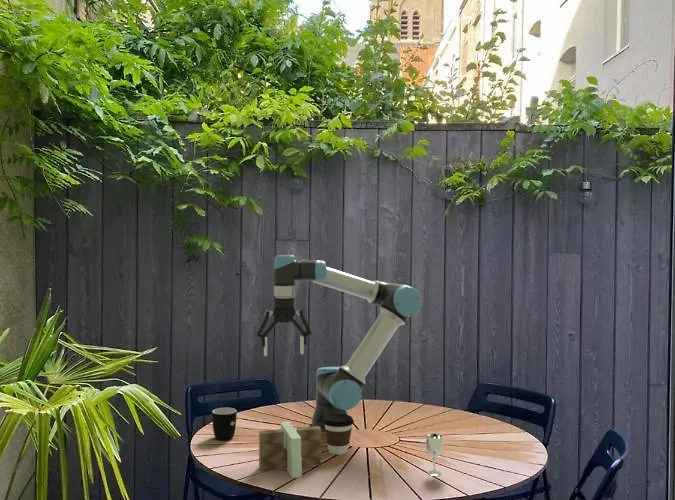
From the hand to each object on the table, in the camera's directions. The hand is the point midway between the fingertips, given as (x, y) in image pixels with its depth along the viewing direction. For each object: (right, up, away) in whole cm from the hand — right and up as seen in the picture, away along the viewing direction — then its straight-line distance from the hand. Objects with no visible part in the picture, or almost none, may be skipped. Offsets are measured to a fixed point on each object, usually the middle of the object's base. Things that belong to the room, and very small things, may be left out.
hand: (283, 354), depth 225 cm
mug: (-22, -32, +4) cm, 39 cm away
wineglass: (+51, -33, -30) cm, 67 cm away
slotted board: (+4, -32, -25) cm, 41 cm away
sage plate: (+4, -32, -25) cm, 41 cm away
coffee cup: (+20, -32, -11) cm, 40 cm away
